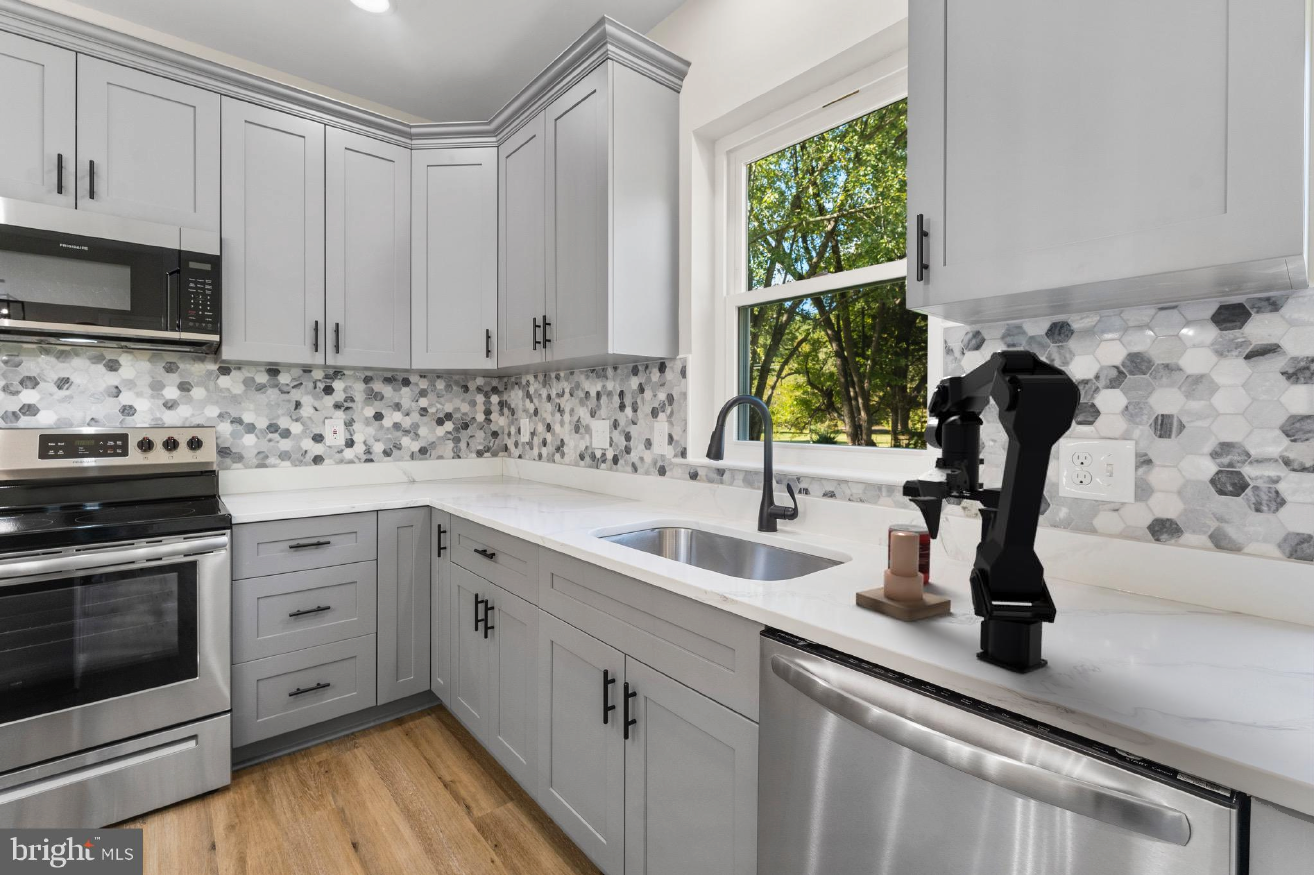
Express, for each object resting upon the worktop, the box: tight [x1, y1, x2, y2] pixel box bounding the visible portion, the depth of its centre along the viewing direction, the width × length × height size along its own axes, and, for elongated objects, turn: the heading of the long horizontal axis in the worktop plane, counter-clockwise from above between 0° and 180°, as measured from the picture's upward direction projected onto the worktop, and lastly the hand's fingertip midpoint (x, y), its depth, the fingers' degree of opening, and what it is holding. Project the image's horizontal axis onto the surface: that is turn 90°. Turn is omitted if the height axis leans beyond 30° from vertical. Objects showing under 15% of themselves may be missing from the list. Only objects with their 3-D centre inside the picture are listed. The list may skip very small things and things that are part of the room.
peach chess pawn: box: [883, 531, 924, 602], centre depth 106 cm, size 6×6×11 cm
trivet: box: [855, 586, 952, 623], centre depth 106 cm, size 11×11×2 cm
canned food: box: [887, 523, 932, 586], centre depth 124 cm, size 8×8×11 cm
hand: (958, 544), depth 102 cm, fingers open, 9 cm apart
